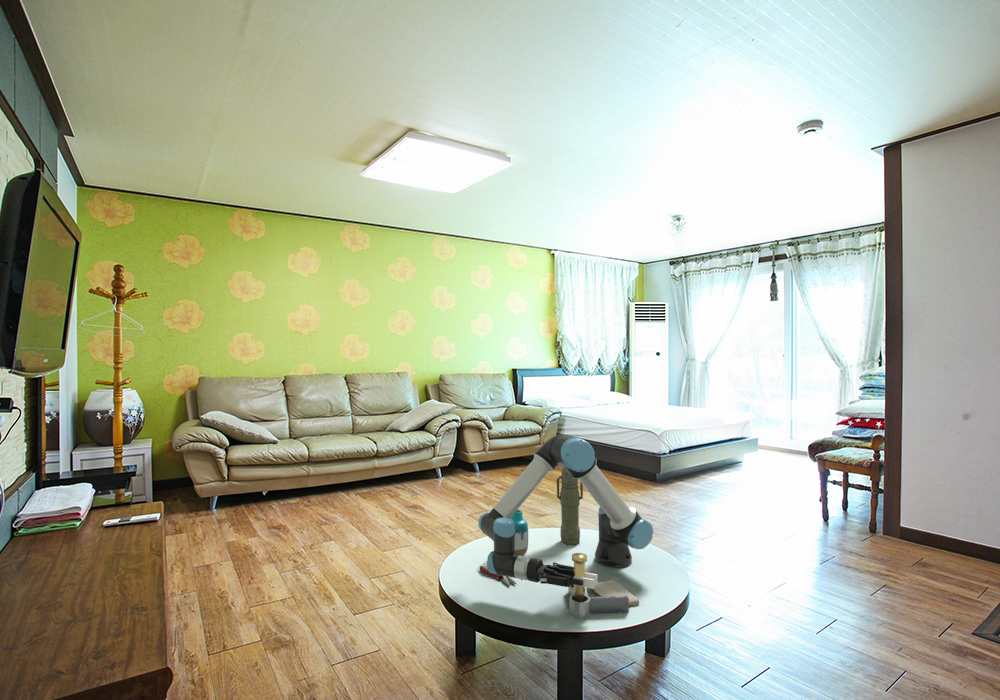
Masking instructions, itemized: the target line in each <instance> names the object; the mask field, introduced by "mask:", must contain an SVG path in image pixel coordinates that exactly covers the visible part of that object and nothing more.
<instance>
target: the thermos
mask: <svg viewBox="0 0 1000 700" xmlns="http://www.w3.org/2000/svg"><path fill="white" fill-rule="evenodd" d="M560 480H561V490H560ZM579 482H580V483H579ZM578 484H580V489H579V485H578ZM583 490H584V485H583V484H582V483H581V481H580V480H579V479H574V478H572V476H571V475H570V474H569V473H568V471H567V470H566V469H565V468H564V467H563V466H562V470H561V475H560V476H558V477H557V479H556V492H557V493H556V497H557V499H558V500H559V501H560V502H559V503H560V506H561V512H560V513H561V525H560V543H561V544H562V543H563V544H562V545H564V544H565V546H568V545H574V546H577V544H578V545H580V544H579V543H581V542H580V538H581V529H580V526H579V524H580V523H579V522H580V520H579V519H580V518H579V517H580V516H579V510H580V509H579V508H580V507H579V506H580V503H581V502H580V501H581V500H583V499H584V498H583V497H584V491H583Z"/></svg>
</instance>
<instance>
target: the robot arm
mask: <svg viewBox="0 0 1000 700" xmlns="http://www.w3.org/2000/svg"><path fill="white" fill-rule="evenodd" d="M595 455H596V453H595V450H594V448H593V446H592V445H591V444H590V443H589V442H588V441H586V440H585V439H582V438H580V437H575V436H569V435H567V434H564V433H563V434H555V435H553V436H551V437H550V438H548V439H547V440H546V441H545V442H544V443H543V444H542V445H541V446H540V447H539V448H538V450H537V451H535V453H534V454H533V459H532V461H531V462H530V463H528V466H527V467H526V468H525V469H524V470H523V472H521V474H520V475H519V476H518V477H517V478H516V480H515V481H514V482H513V484H511V486H510V487H509V488H508V489H507V490H506V492H505V493H504V494H503V495H502V496H501V498H500V499H499V501H498V502H497V503H496V504H495V505H494V507H492V509H491V510H490V511H489V512H484V513H483V514H481V515H480V516H479V517H478V528H479V529H480V531H481V532H482V533H483V534H484V535H486V536H487V537H488V539H491V541H492V542H493V550H492V551H490V552H489V553H488V555H487V558H486V559H487V560H486V569H488V571H489V572H490V573H493V574H497V575H499V576H507V577H511V578H512V579H519V580H520V581H528V582H533V583H539V582H540V584H541V585H543V584H544V585H545V584H547V585H553V586H558V587H564V588H565V587H566V588H568V587H570V585H571V588H573V584H574V585H577V586H582V587H585V588H587V587H588V588H593V589H594V583H598V582H599V581H598V580H599V577H598V574H597V573H591V572H586V571H585V578H584V577H579V576H574V566H571V565H567V564H562V563H561V564H560V563H558V562H555V561H554V562H552V565H551V564H544V561H543V560H542V559H540V558H535V557H530V556H525V555H523V556H519V555H515V525H514V521H513V520H512V519H510V518H511V517H512V516H513V514H514V513H515V512H516V511H517V510H519V509H520V507H521V506H522V504H524V502H525V501H527V499H528V497H529V496H530V495H531V494H532V492H533V491H534V490H535V489H536V488H537V486H538V485H539V484H540V483H541V482H542V480H543V479H544V478H545V477H546V476H547V474H549V473H550V472H553V471H554V470H555V468H557V467H558V466H562V468H563V467H564V468H565V469H566V470H567V471H568V473H569V474H570V475H571V476H572V478H574V479H578V481H579V482H580V481H581V483H582V484H583V488H585V489H586V490H587V492H588V493H589V494H590V495H591V497H592V498H593V500H594V501H595V502H596V503H597V504H598V506H599V507H598V514H597V516H598V542H597V545H596V550H595V552H594V560H595V562H596V563H597V564H599V565H602V566H605V567H609V566H610V568H611V567H613V568H622V567H627V566H629V565H631V564H632V563H633V559H632V558H633V557H632V553H631V550H630V548H632V549H635V550H643V549H645V548H646V547H648V546H649V544H650V543H652V542H651V541H652V539H653V537H654V536H653V534H654V528H653V524H652V523H651V522H649V521H648V520H647V519H645V518H643V517H642V516H641V515H640V513H639V512H638V511H637V510H636V509H635V508H634V507H633V506H631V505H627V503H626V502H625V501H624V499H623V498H622V497H621V496H620V494H619V492H618V491H616V489H615V488H614V487H613V485H612V484H611V482H610V481H609V480H608V478H606V476H605V475H604V473H603V472H602V471H601V469H600V468H599V467H598V465H597V461H598V460H597V458H596V456H595Z"/></svg>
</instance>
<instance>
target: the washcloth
mask: <svg viewBox="0 0 1000 700" xmlns="http://www.w3.org/2000/svg"><path fill="white" fill-rule="evenodd" d="M586 589H587V590H588V592H589V593H590V594H591V595H592V597H605V596H628V597H629V607H634V606H637V605H639V604H640V600H639V598H638V597H636V596H635V595H634V594H632V593H631V592H630V591H628V589H626V588H625V587H623V586H622V585H621V584H619V583H618V582H617V581H615V580H614V579H609V580H606V581H605V580H604V581H598V583H594V589H593V588H588V587H586Z"/></svg>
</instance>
